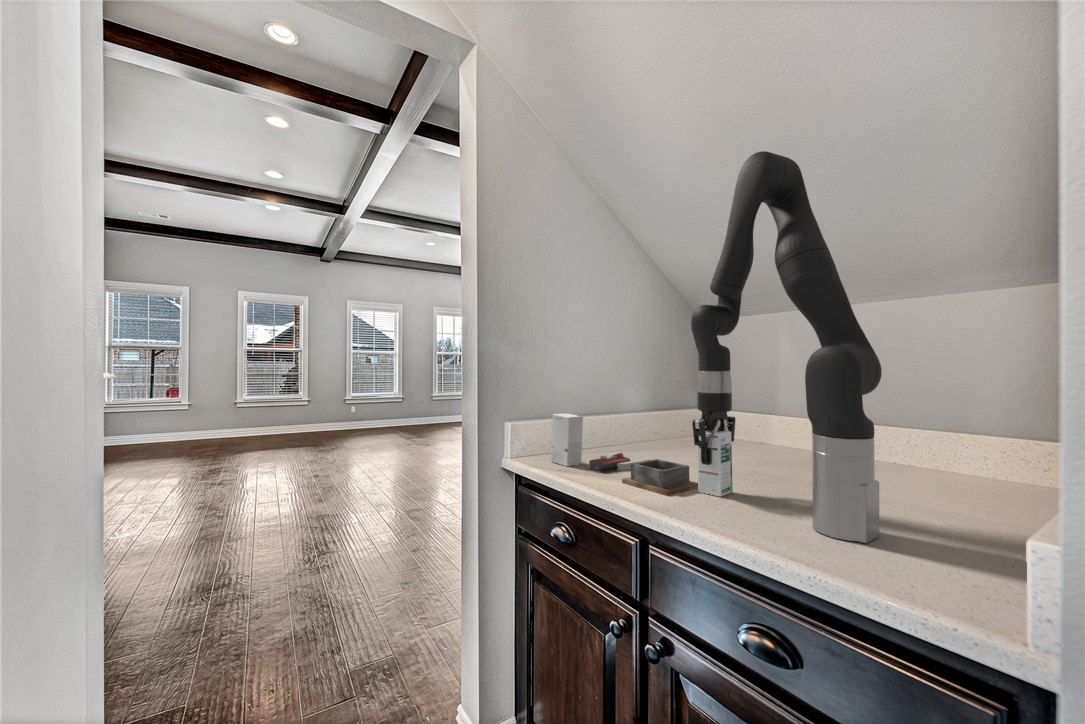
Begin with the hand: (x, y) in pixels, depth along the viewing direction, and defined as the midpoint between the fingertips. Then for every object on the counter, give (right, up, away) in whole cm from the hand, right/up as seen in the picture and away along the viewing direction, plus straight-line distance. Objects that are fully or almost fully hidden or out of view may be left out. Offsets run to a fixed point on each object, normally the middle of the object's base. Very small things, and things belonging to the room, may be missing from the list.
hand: (714, 462), depth 105 cm
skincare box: (-33, -8, +32) cm, 46 cm away
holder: (-11, -7, +7) cm, 15 cm away
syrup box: (0, -7, 0) cm, 7 cm away
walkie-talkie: (-18, -8, +27) cm, 33 cm away
